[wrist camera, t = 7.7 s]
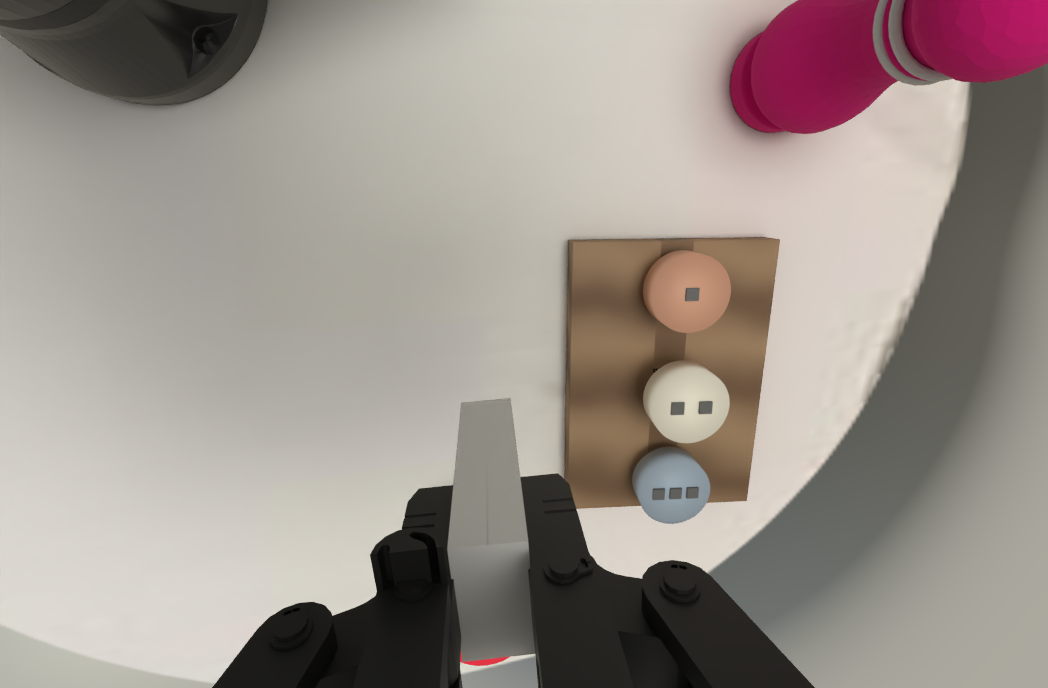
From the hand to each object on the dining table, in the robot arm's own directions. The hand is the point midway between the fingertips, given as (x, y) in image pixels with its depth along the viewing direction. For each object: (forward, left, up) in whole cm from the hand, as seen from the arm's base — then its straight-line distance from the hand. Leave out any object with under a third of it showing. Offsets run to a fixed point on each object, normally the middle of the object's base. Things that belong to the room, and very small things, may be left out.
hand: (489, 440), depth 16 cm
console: (+6, +13, -22) cm, 26 cm away
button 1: (-1, +13, -21) cm, 24 cm away
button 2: (+6, +13, -19) cm, 24 cm away
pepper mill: (-14, +19, -22) cm, 32 cm away
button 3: (+13, +13, -21) cm, 27 cm away
